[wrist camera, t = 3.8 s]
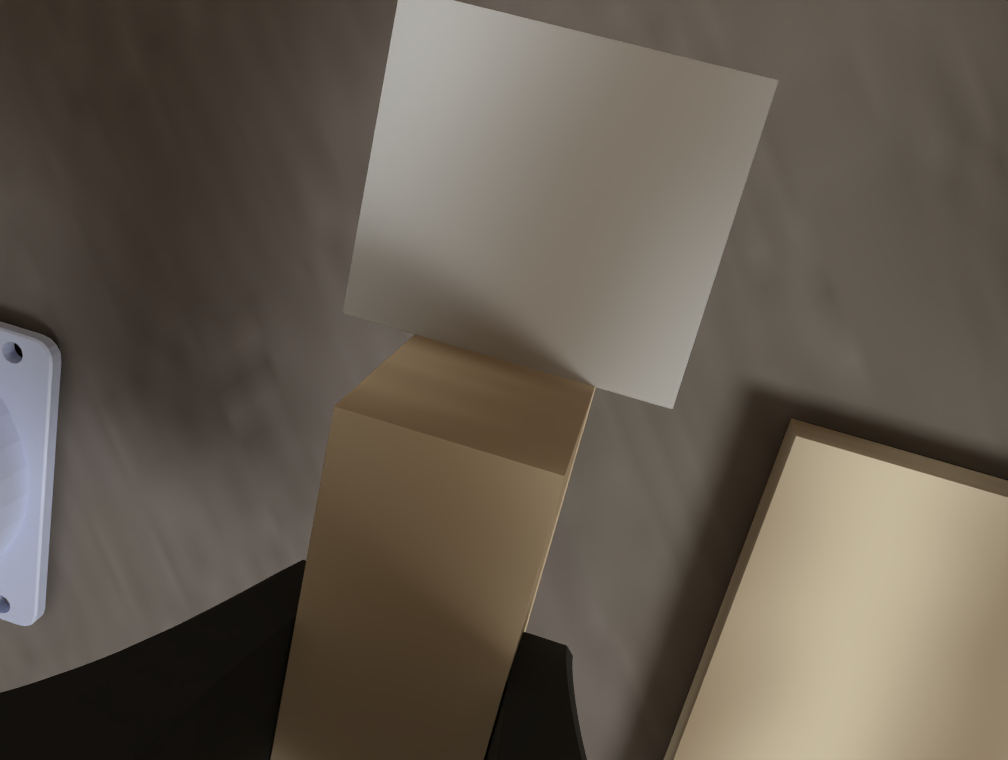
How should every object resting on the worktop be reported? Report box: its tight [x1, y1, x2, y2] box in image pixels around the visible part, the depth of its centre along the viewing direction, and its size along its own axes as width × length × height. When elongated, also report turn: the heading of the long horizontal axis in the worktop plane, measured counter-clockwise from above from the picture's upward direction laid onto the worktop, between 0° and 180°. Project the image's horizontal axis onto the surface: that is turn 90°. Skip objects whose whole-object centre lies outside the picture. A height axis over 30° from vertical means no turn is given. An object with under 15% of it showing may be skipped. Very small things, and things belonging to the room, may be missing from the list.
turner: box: [270, 0, 779, 760], centre depth 12 cm, size 4×14×4 cm, turn 167°
